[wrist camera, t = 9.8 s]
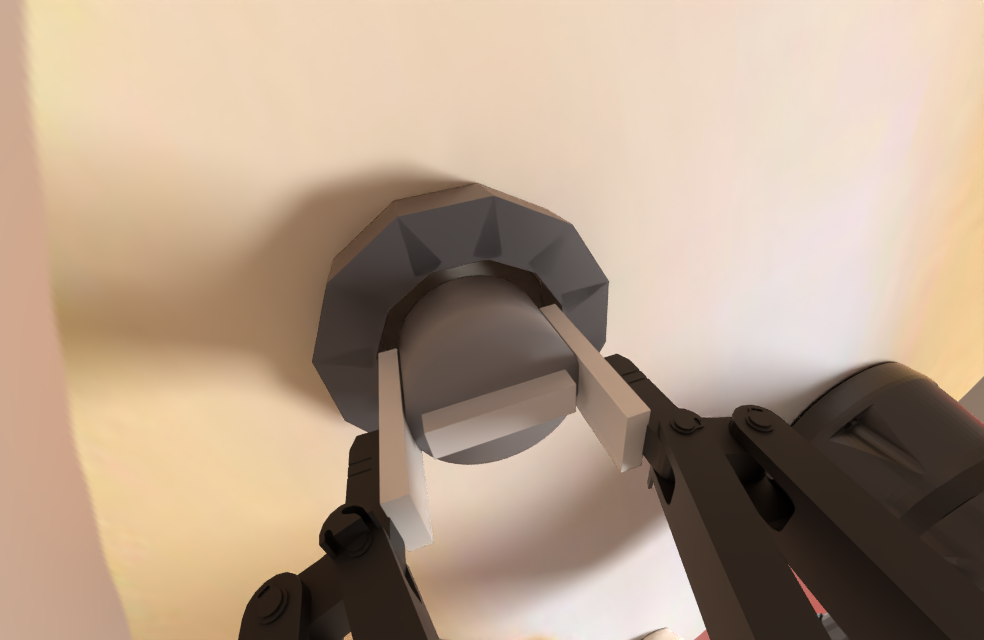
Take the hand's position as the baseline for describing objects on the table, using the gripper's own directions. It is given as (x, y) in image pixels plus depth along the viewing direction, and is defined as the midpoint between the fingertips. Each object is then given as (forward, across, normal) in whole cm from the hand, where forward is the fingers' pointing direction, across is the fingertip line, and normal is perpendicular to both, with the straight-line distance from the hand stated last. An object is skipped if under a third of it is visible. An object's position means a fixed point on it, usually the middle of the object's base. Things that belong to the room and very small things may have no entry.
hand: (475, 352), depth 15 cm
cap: (0, 0, 0) cm, 1 cm away
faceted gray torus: (+3, 0, 0) cm, 3 cm away
